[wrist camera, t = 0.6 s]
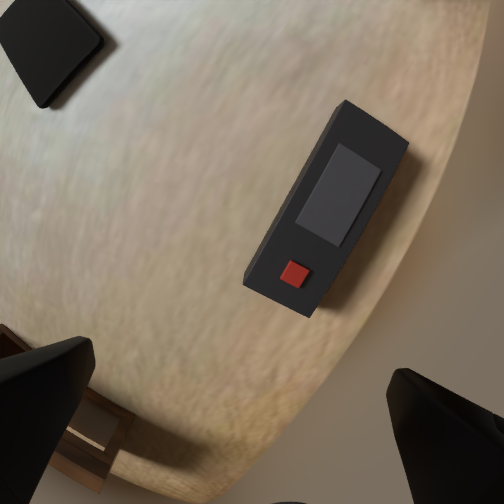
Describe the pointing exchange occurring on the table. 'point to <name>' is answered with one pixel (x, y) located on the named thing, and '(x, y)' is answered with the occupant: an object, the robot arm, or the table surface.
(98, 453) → the shelf
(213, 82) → the table surface
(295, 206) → the remote
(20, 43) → the smartphone
